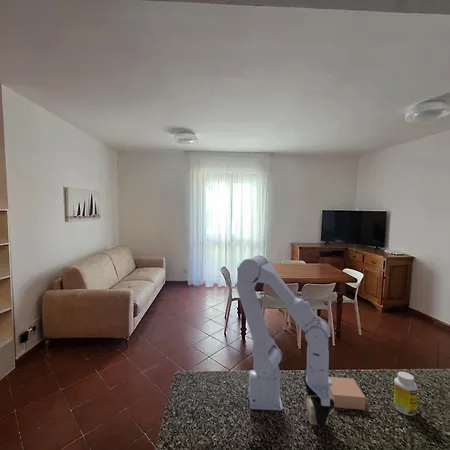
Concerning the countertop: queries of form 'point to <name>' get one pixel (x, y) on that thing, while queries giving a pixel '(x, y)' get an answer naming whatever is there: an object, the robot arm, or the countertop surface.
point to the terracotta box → (346, 393)
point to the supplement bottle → (405, 394)
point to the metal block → (312, 410)
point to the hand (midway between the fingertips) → (316, 413)
